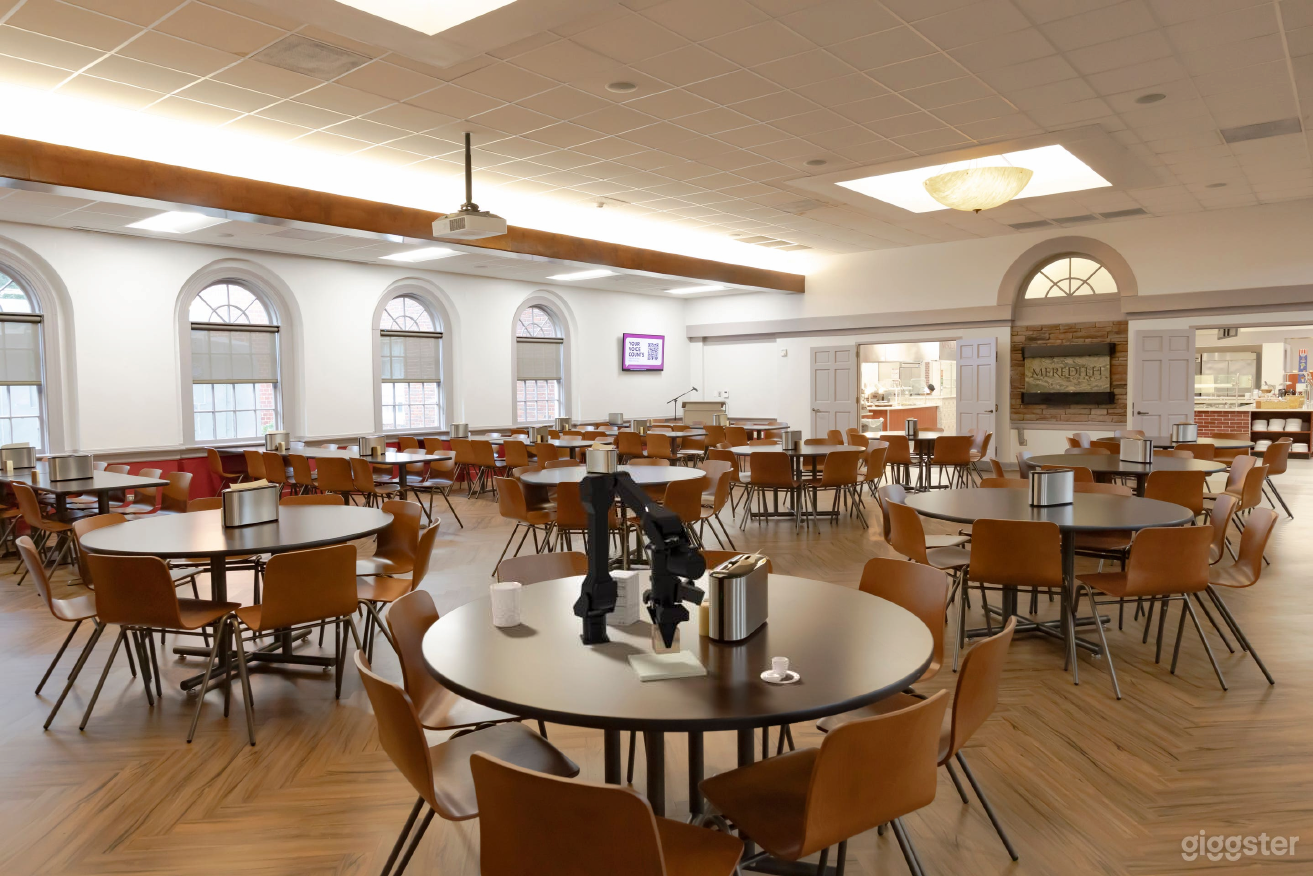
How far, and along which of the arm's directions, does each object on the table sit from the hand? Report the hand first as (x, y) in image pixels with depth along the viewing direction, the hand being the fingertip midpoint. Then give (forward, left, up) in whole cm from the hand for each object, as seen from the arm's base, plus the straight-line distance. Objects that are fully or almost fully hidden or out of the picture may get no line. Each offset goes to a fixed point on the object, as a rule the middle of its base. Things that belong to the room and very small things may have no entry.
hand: (665, 644), depth 177 cm
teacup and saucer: (+11, +19, -6) cm, 22 cm away
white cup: (-44, -32, -5) cm, 55 cm away
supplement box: (-38, -3, -5) cm, 38 cm away
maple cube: (0, 0, -1) cm, 1 cm away
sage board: (0, 0, -5) cm, 5 cm away
